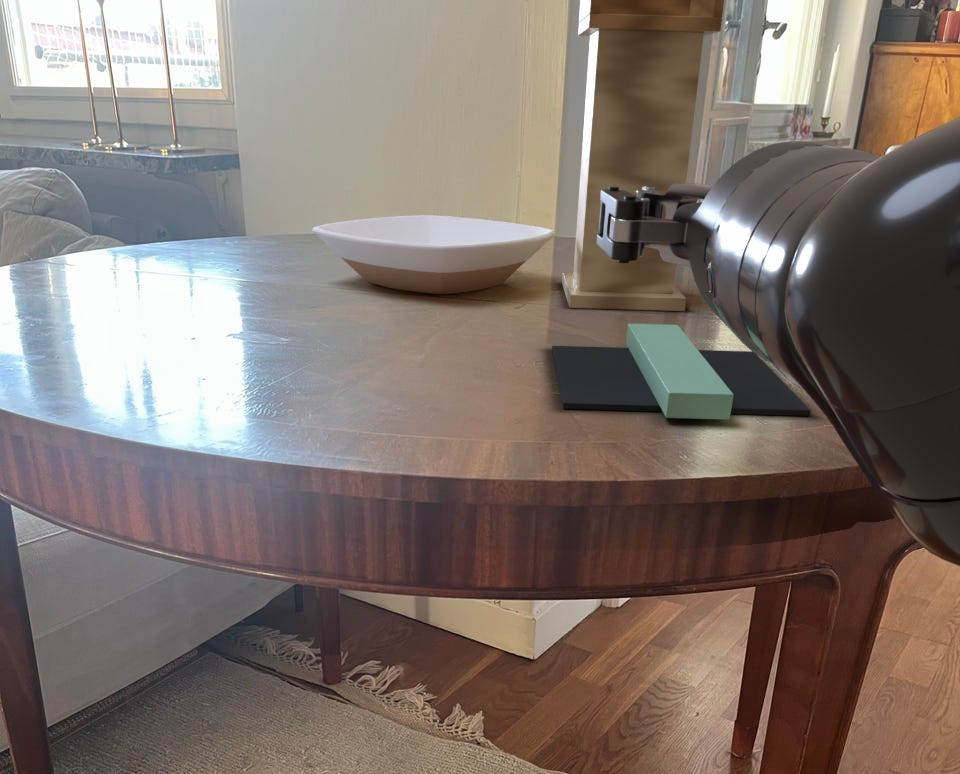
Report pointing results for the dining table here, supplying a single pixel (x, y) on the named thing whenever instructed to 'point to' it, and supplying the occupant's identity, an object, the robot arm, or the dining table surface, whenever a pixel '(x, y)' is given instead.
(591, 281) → the stand
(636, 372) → the mat
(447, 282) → the bowl
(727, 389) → the block
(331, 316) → the dining table surface
